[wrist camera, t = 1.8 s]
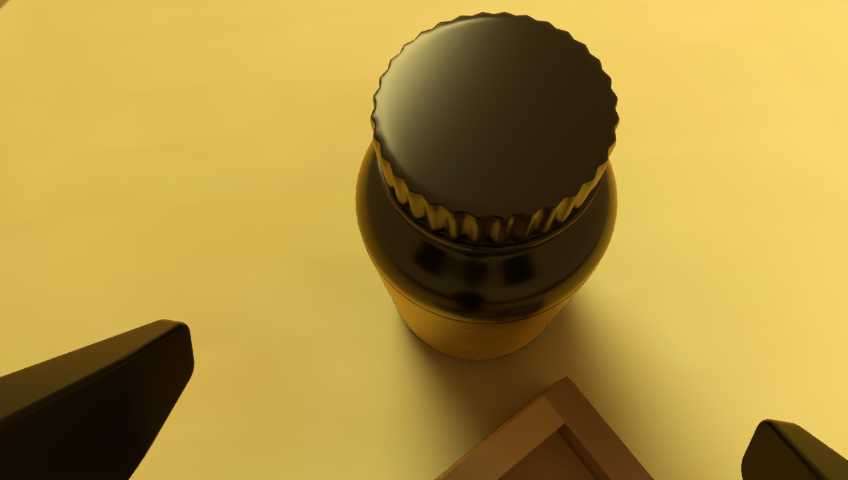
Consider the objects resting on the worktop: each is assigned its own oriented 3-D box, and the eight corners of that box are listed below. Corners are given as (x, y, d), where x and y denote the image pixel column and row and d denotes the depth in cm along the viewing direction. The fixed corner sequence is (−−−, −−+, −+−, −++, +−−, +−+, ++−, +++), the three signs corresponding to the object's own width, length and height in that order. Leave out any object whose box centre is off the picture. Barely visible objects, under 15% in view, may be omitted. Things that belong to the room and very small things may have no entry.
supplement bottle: (369, 240, 22) (275, 32, 10) (512, 183, 22) (568, -71, 11) (429, 393, 19) (390, 334, 8) (589, 325, 20) (760, 181, 9)
